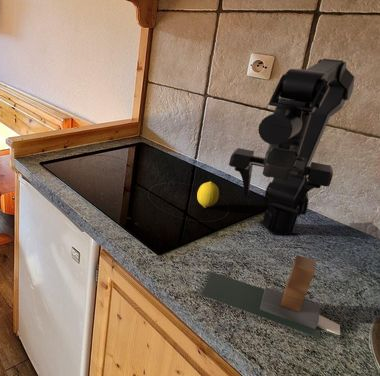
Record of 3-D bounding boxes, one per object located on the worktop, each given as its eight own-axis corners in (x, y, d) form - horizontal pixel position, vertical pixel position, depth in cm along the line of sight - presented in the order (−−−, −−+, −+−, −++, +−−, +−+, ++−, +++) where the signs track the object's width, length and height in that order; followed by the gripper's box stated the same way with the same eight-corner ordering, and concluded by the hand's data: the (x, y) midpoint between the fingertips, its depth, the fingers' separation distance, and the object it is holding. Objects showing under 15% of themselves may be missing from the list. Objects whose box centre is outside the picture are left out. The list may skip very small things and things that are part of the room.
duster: (316, 313, 75) (335, 264, 71) (315, 329, 71) (335, 279, 67) (263, 294, 80) (278, 247, 75) (259, 309, 76) (275, 260, 71)
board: (320, 310, 77) (321, 308, 76) (319, 341, 70) (320, 338, 70) (210, 273, 86) (211, 271, 86) (200, 297, 79) (201, 294, 79)
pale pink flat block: (340, 327, 73) (341, 325, 73) (340, 338, 71) (342, 336, 70) (316, 315, 74) (317, 313, 74) (315, 325, 72) (317, 323, 72)
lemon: (205, 213, 111) (211, 187, 107) (190, 205, 115) (195, 179, 112) (219, 209, 113) (226, 183, 110) (204, 201, 118) (210, 176, 114)
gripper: (232, 135, 81) (216, 204, 87) (344, 154, 72) (316, 230, 78) (241, 122, 89) (226, 186, 96) (342, 139, 80) (318, 208, 87)
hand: (268, 202), depth 89 cm, fingers open, 9 cm apart
